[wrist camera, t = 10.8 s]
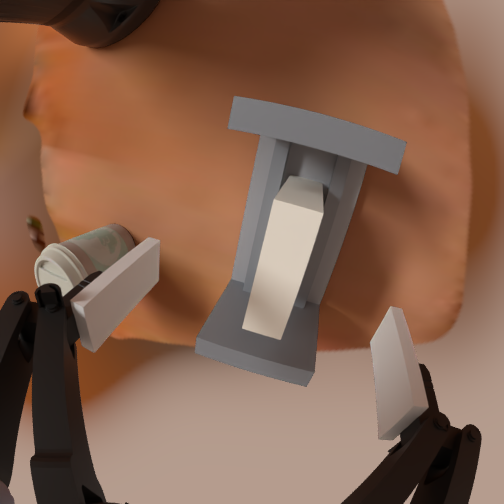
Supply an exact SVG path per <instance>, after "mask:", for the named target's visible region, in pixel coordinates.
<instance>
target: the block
mask: <svg viewBox="0 0 504 504" xmlns="http://www.w3.org/2000/svg"><path fill="white" fill-rule="evenodd" d="M323 214H324V210H323V183H320V182H316V181H313V180H309V179H306V178H302V177H299V176H295V175H290V176H289V178H288V179H287V181H286V182H285V183H284V185H283V186H282V188H281V189H280V191H279V192H278V194H277V195H276V196H275V198H274V200H273V204H272V208H271V212H270V216H269V221H268V225H267V229H266V233H265V237H264V241H263V245H262V249H261V253H260V258H259V262H258V266H257V270H256V274H255V278H254V282H253V286H252V290H251V294H250V298H249V302H248V306H247V310H246V314H245V318H244V322H243V326H242V329H245V330H249V331H252V332H255V333H258V334H262V335H265V336H268V337H272V338H275V339H279V340H281V338H282V335H283V332H284V330H285V327H286V324H287V321H288V319H289V316H290V313H291V310H292V308H293V305H294V302H295V299H296V296H297V293H298V291H299V288H300V285H301V282H302V279H303V276H304V273H305V270H306V267H307V264H308V261H309V258H310V255H311V252H312V249H313V246H314V243H315V239H316V236H317V233H318V230H319V227H320V223H321V220H322V217H323Z"/></svg>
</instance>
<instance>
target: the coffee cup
mask: <svg viewBox="0 0 504 504" xmlns="http://www.w3.org/2000/svg"><path fill="white" fill-rule="evenodd" d="M133 248H135V244H134V241H133V239H132V237H131V235H130V234H129V232H128V231H127V230H126V229H125V228H123V227H122V226H120V225H118V224H110V225H107V226H104V227H101V228H99V229H96V230H93V231H90V232H88V233H85V234H83V235H80V236H77V237H75V238H72V239H70V240H67V241H65V242H62V243H60V244H50V245H48V246H47V247H46V248H45V249H44V250H43V251H42V253H41V255H40V257H38V259H37V260H36V263H35V277H36V281H37V284H38V287H39V286H41V285H43V284H47V283H54V284H57V285H59V286H60V288H61V292H62V296H64V295H65V294H66V293H68V292H69V291H70V290H71V289H72V288H74V287H75V286H76V285H78V284H79V283H80V282H81V281H82V280H84V279H85V278H86V277H87V276H88V275H90V274H92V273H94V272H97V271H102V272H104V271H106V270H107V269H108V268H109V267H111V266H112V265H113V264H114V263H116V262H117V261H118V260H119V259H121V258H122V257H123V256H124V255H126V254H127V253H128V252H130V251H131V250H132V249H133Z"/></svg>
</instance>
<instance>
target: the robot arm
mask: <svg viewBox="0 0 504 504" xmlns="http://www.w3.org/2000/svg"><path fill="white" fill-rule="evenodd" d="M158 2H159V0H0V22H14V23H29V24H39V25H46V26H51V27H52V28H54V29H55V30H56V31H58V32H59V33H61V34H62V35H64V36H65V37H66V38H68V39H69V40H71V41H72V42H73V43H75V44H78V45H82V46H87V47H92V48H99V47H105V46H108V45H111V44H113V43H115V42H117V41H119V40H121V39H123V38H124V37H126V36H127V35H128V34H130V33H131V32H132V31H134V30H135V29H136V28H137V27H138V26H139V25H140V24H141V23H142V22H143V21H144V20H145V19H146V18H147V17H148V16H149V15H150V13H151V12H152V11H153V9H154V8H155V7H156V5H157V4H158ZM159 256H160V240H157V239H154V238H151V237H148V238H147V239H145V240H144V241H143V242H141V243H140V244H139V245H137V246H136V247H135V248H133V249H132V250H131V251H130V252H128V253H127V254H126V255H124V256H123V257H122V258H121V259H119V260H118V261H117V262H116V263H114V264H113V265H112V266H111V267H109V268H108V269H107V270H106V271H104V272H102V271H97V272H94V273H92V274H90V275H88V276H87V277H86V278H85V279H84V280H82V281H81V282H80V283H79V284H78V285H76V286H75V287H74V288H72V289H71V290H70V291H69V292H68V293H66V294H65V295H64V296H62V292H61V288H60V286H59V285H57V284H54V283H47V284H43V285H41V286H39V287H38V288H37V289H36V291H35V297H36V300H37V303H36V302H31V301H30V299H29V295H28V294H27V293H26V292H24V291H18V292H14V293H12V294H11V295H10V296H9V297H8V298H7V300H6V301H5V303H4V305H3V307H2V309H1V310H0V504H14V498H13V496H12V495H11V493H10V491H9V489H8V486H9V484H10V480H11V476H12V470H13V464H14V455H15V448H16V441H17V435H18V430H19V424H20V419H21V414H22V410H23V405H24V401H25V397H26V393H27V389H28V386H29V382H30V378H31V375H32V417H33V434H34V445H35V455H34V456H32V457H31V460H30V467H31V474H32V480H33V485H34V491H35V496H36V500H37V504H118V503H108V502H106V499H105V496H104V493H103V490H102V488H101V486H100V484H99V481H98V480H97V477H96V474H95V471H94V467H93V463H92V459H91V455H90V451H89V446H88V441H87V435H86V430H85V425H84V419H83V412H82V405H81V397H80V389H79V378H78V366H77V350H76V349H77V348H76V344H75V342H76V341H77V340H78V339H79V338H80V340H81V344H82V346H83V347H85V348H87V349H88V350H90V351H92V352H95V351H96V350H97V349H98V348H99V347H100V346H101V344H102V343H103V342H104V341H105V340H106V338H108V336H109V335H110V334H111V333H112V332H113V331H114V330H115V328H116V327H117V326H118V325H119V324H120V323H121V322H122V321H123V319H124V318H125V317H126V316H127V315H128V314H129V313H130V312H131V311H132V309H133V308H134V307H135V306H136V305H137V304H138V303H139V302H140V301H141V300H142V298H143V297H144V296H145V295H146V294H147V293H148V292H149V291H150V290H151V289H152V288H153V287H154V285H155V284H156V283H157V282H158V281H159ZM370 346H371V354H372V361H373V370H374V380H375V390H376V402H377V416H378V438H379V439H381V440H394V439H395V438H396V437H397V436H398V435H399V434H400V438H401V441H400V442H399V443H397V444H396V445H395V446H394V447H392V448H391V449H390V450H389V451H388V452H390V453H389V454H388V455H387V456H386V458H385V459H384V460H383V461H382V462H381V463H380V465H379V466H378V467H377V468H376V469H375V470H374V471H373V472H372V473H371V474H370V476H369V477H368V478H367V479H366V480H365V481H364V482H363V483H362V484H361V485H360V486H359V487H358V488H357V489H356V490H355V491H354V492H353V493H352V494H351V495H350V496H348V497H347V498H346V499H345V500H344V501H343V502H342V503H341V504H403V503H404V502H405V500H406V499H407V498H408V497H409V495H410V494H411V493H412V491H413V490H414V488H415V487H416V486H417V484H418V483H419V484H418V486H417V488H416V491H415V493H414V496H413V498H412V500H411V502H410V504H468V502H469V499H470V495H471V491H472V487H473V483H474V479H475V474H476V470H477V465H478V459H479V453H480V447H481V433H480V431H479V429H478V428H477V427H476V426H474V425H472V424H469V425H466V426H465V427H464V428H463V429H462V430H461V429H458V428H455V427H453V426H450V421H449V419H448V418H447V417H446V415H445V414H443V413H441V412H439V409H438V404H437V400H436V396H435V392H434V389H433V384H432V382H431V381H432V380H431V376H430V373H429V371H428V369H427V368H426V366H425V365H424V364H419V363H418V360H417V356H416V353H415V349H414V345H413V342H412V339H411V335H410V332H409V329H408V326H407V323H406V319H405V316H404V313H403V310H402V309H401V308H397V307H393V306H390V308H389V309H388V311H387V313H386V315H385V317H384V319H383V320H382V322H381V324H380V326H379V327H378V329H377V331H376V333H375V334H374V336H373V338H372V339H371V341H370ZM125 504H128V503H125Z"/></svg>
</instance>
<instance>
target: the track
mask: <svg viewBox="0 0 504 504" xmlns="http://www.w3.org/2000/svg"><path fill="white" fill-rule="evenodd" d="M228 129H233V130H238V131H243V132H248V133H253V134H258V135H260V140H259V144H258V149H257V154H256V159H255V163H254V168H253V173H252V178H251V183H250V187H249V192H248V197H247V202H246V207H245V212H244V217H243V222H242V227H241V232H240V237H239V242H238V247H237V252H236V257H235V263H234V268H233V273H232V278H231V280H230V282H229V284H228V285H227V287H226V289H225V290H224V292H223V294H222V295H221V297H220V299H219V300H218V302H217V304H216V305H215V307H214V309H213V310H212V312H211V314H210V315H209V317H208V319H207V320H206V322H205V324H204V325H203V327H202V329H201V330H200V332H199V334H198V335H197V337H196V346H195V353H196V354H199V355H202V356H205V357H208V358H210V359H213V360H216V361H219V362H222V363H225V364H228V365H231V366H234V367H237V368H240V369H244V370H247V371H250V372H254V373H257V374H260V375H264V376H267V377H271V378H274V379H278V380H282V381H286V382H289V383H293V384H298V385H301V386H305V387H307V385H308V383H309V381H310V380H311V378H312V376H313V374H314V372H315V362H316V350H317V337H318V323H319V306H320V302H321V300H322V297H323V295H324V292H325V290H326V287H327V285H328V282H329V279H330V277H331V274H332V272H333V269H334V266H335V263H336V261H337V258H338V255H339V252H340V250H341V247H342V244H343V241H344V238H345V235H346V232H347V229H348V226H349V223H350V220H351V217H352V214H353V211H354V208H355V205H356V202H357V198H358V195H359V192H360V189H361V185H362V182H363V178H364V175H365V172H366V168H367V164H368V165H371V166H374V167H377V168H380V169H383V170H386V171H388V172H391V173H394V174H397V175H398V172H399V168H400V165H401V161H402V158H403V154H404V150H405V146H406V143H407V142H405V141H403V140H400V139H398V138H395V137H392V136H390V135H387V134H384V133H381V132H379V131H376V130H373V129H370V128H367V127H364V126H361V125H358V124H355V123H351V122H348V121H345V120H342V119H338V118H335V117H331V116H328V115H324V114H320V113H316V112H312V111H308V110H304V109H300V108H296V107H291V106H287V105H282V104H277V103H272V102H267V101H262V100H256V99H250V98H244V97H238V96H234V99H233V104H232V109H231V114H230V119H229V124H228ZM290 175H295V176H299V177H302V178H306V179H309V180H313V181H316V182H320V183H323V210H324V214H323V217H322V220H321V223H320V227H319V230H318V233H317V236H316V239H315V243H314V246H313V249H312V252H311V255H310V258H309V261H308V264H307V267H306V270H305V273H304V276H303V279H302V282H301V285H300V288H299V291H298V293H297V296H296V299H295V302H294V305H293V308H292V310H291V313H290V316H289V319H288V321H287V324H286V327H285V330H284V332H283V335H282V338H281V340H279V339H275V338H272V337H268V336H265V335H262V334H258V333H255V332H252V331H249V330H245V329H242V326H243V322H244V318H245V314H246V310H247V306H248V302H249V298H250V294H251V290H252V286H253V282H254V278H255V274H256V270H257V266H258V262H259V258H260V253H261V249H262V245H263V241H264V237H265V233H266V229H267V225H268V221H269V216H270V212H271V208H272V204H273V200H274V198H275V196H276V195H277V194H278V192H279V191H280V189H281V188H282V186H283V185H284V183H285V182H286V181H287V179H288V178H289V176H290Z"/></svg>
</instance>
